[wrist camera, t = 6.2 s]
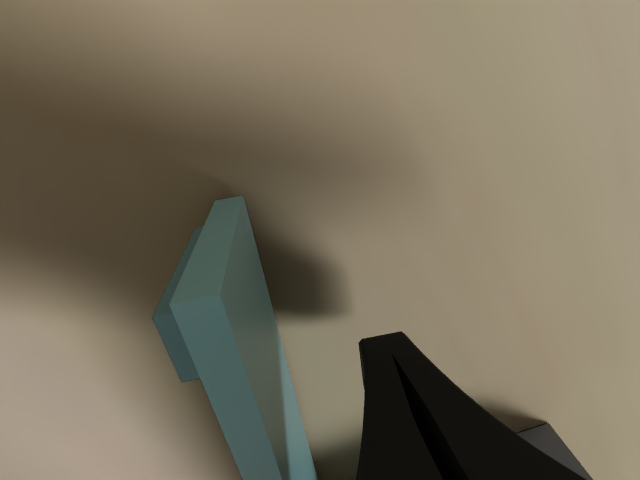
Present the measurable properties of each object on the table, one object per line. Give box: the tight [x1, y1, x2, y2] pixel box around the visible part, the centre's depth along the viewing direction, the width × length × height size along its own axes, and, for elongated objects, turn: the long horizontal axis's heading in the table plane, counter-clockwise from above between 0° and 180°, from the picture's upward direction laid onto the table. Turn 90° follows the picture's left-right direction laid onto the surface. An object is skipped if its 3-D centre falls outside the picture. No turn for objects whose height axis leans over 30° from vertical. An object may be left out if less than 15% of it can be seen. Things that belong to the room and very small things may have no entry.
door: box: [152, 195, 318, 480], centre depth 11 cm, size 1×16×5 cm, turn 9°
